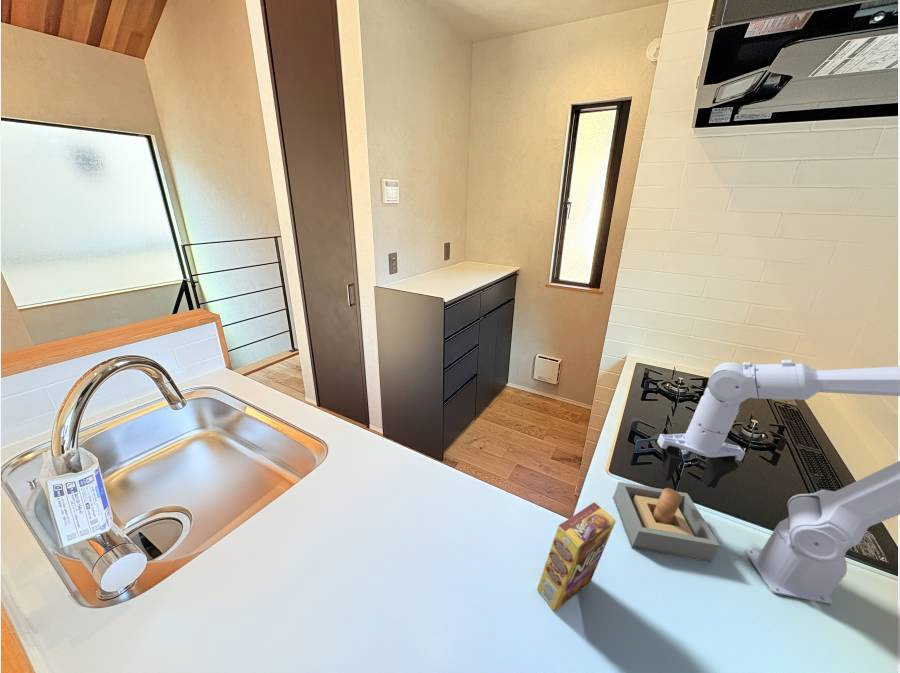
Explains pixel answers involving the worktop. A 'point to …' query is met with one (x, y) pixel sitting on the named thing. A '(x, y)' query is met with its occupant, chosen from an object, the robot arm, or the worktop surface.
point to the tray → (662, 537)
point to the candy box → (575, 555)
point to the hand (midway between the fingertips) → (685, 480)
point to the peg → (667, 506)
